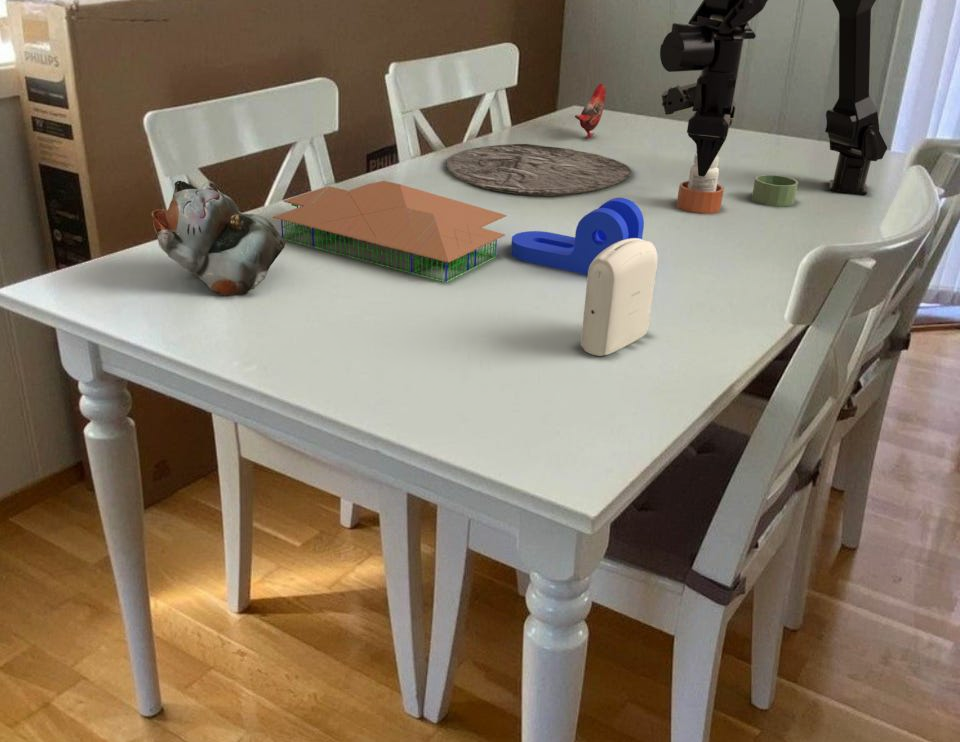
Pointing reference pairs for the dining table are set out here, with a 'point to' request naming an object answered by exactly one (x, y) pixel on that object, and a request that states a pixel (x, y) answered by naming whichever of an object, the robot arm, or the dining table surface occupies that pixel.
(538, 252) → the bracket
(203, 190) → the lucky cat figurine
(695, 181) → the pill bottle
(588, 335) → the photo printer
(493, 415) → the dining table surface
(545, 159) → the worn metal disc
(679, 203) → the terracotta cup
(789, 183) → the green cup
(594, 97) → the decorative bird figurine
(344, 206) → the house
